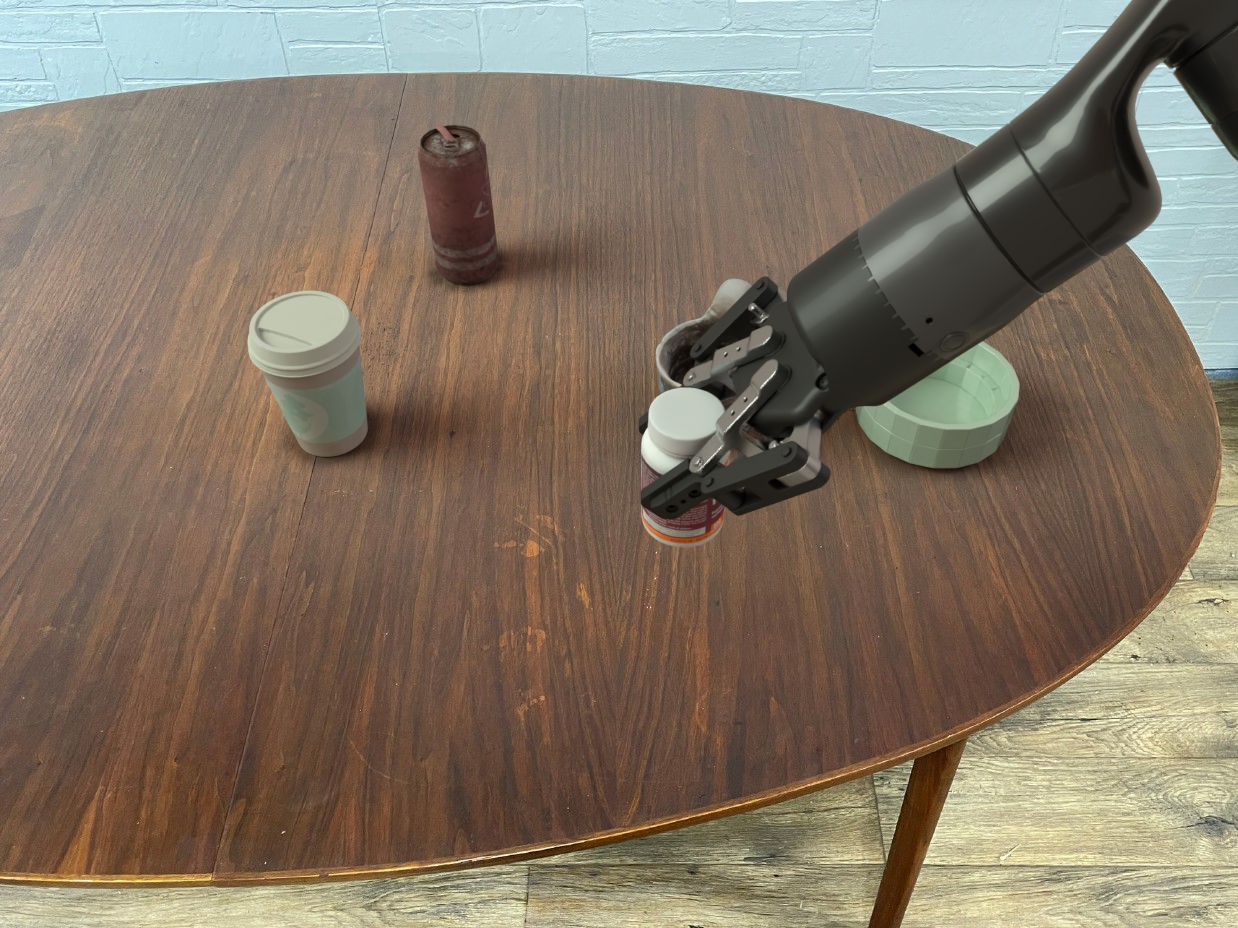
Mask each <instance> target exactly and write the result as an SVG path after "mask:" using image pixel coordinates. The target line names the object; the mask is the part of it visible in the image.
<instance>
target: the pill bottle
mask: <svg viewBox="0 0 1238 928" xmlns="http://www.w3.org/2000/svg"><path fill="white" fill-rule="evenodd" d="M648 411H649V417H648V428H647V429H646V431H645V433H644V435H642V437H641V445H640V448H641V449H640V451H641V452H640V457H641V462H640V463H641V464H640V465H641V466H640V467H641V468H640V471H641V472H640V473H641V476H640V478H641V479H640V480H641V482H640V483H641V490H642V489H643V488H645V487H646V486H648V485H649V484H650V483H652V482H653V481H655V480H656V479H658V478H659V477H661V476H662V475H664V474H665V473H667V472H668V471H669V470H671V469H672V468H674V467H675V466H677V465H678V464H680V463H681V462H683V461H684V460H686V459H687V458H689V459H690V460H692V458H693V457H694V456H695V455H696V454H697V453H698V451H699V450H700V449H701V448H702V447H703V446H704V445H705V444H706V443H707V442H708V441H709V440H710V439H711V438H712V437H713V436H714V435H715V433H716V426H715V424H716V421H717V420H718V418H719V417H720V416H721V415H722V414H723V413H724V412H725V408H724V406H723V404H722V403H721V401H720V400H719V399H718V398H717V397H715V396H714V395H712V394H711V393H709V392H706V391H704V390H700V389H696V388H676V389H672V390H669V391H666V392H664V393H662V394H661V395H659V394H658V396H656V397H655V398H654V399H653V401H652V402H651V404H650V406H649V409H648ZM730 459H731V450H729V451H728V452H727V453H726V454H725V455H724V456H723V457H722V458H721V460H720V461H719V462H720V463H722V464H723V465H725V466H728V465H730ZM641 490H640V491H641ZM640 507H641V509H640V510H641V512H640V514H641V521H642V524H643V527H644V529H645V530H646V532H647V533H648V534H649V535H650V536H651V537H652V538H653V539H655V540H656V541H658V542H659V543H661V544H664V545H667V546H670V547H673V548H682V549H683V548H685V549H686V548H695V547H699V546H702V545H705V544H706V543H708V542H710V541H711V540H713V539H714V538H715V537H716V536H717V535H718V534H719V533H720V531H721V529H722V527H723V525H724V521H725V513H726V507H725V506H723V505H722V504H720V503H719V502H717V501H716V500H714V499H713V498H710V497H709V498H708V499H706V500H705V501H703V502H701V503H700V504H698V505H697V506H695V507H694V508H692V509H690V510H689V511H688V512H686V513H684V514H683V515H681V516H680V517H678V518H677V519H672V520H669V519H662V518H660V517H658V516H657V515H655V514H654V513H652V512H650V511H649V510H647V509H646V508H644V507H643V506H642V505H640Z"/></svg>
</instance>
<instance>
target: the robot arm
mask: <svg viewBox="0 0 1238 928" xmlns="http://www.w3.org/2000/svg"><path fill="white" fill-rule="evenodd" d="M1161 64H1164V65H1165V66H1166V67H1167V68H1168V69H1169V70H1173V69H1175V70H1173V71H1172V75H1173V77H1174V78H1175V79H1176V80H1177V82H1178V83H1179V85H1180V86H1181V88H1182V89H1183V90H1184V92H1185V94H1186V95H1187V96H1188V97H1189V99H1190V100H1191V101H1192V103H1193V104H1194V105H1195V107H1196V109H1197V110H1198V111H1199V112H1200V114H1201V115H1202V117H1203V118H1204V120H1205V121H1206V122H1207V123H1208V125H1209V126H1210V129H1211V130H1212V132H1214V134H1215V136H1216V137H1217V138H1218V140H1219V141H1220V143H1221V144H1222V145H1223V147H1224V148H1225V149H1226V151H1227V152H1228V153H1229V155H1230V156H1231V157H1232V158H1233V159H1234V160H1235V161H1236V162H1238V0H1131V1H1130V2H1128V4H1127V6H1126V7H1125V8H1124V9H1123V10H1122V12H1121V13H1120V14H1119V16H1117V18H1116V19H1115V20H1114V21H1113V23H1112V24H1111V25H1110V26H1109V27H1108V28H1107V30H1106V31H1105V32H1104V33H1103V34H1102V35H1101V36H1100V37H1099V39H1098V40H1097V41H1096V42H1095V43H1094V44H1093V45H1092V46H1091V47H1090V48H1089V49H1088V51H1087V52H1085V54H1084V55H1083V56H1082V57H1081V58H1080V59H1079V61H1077V63H1076V64H1074V65H1073V67H1071V69H1069V71H1067V73H1066V74H1065V75H1064V76H1063V77H1061V78H1060V79H1059V80H1058V81H1057V82H1056V83H1055V84H1053V85H1052V87H1050V88H1049V89H1048V90H1047V91H1046V92H1045V93H1044V94H1042V96H1040V97H1039V98H1038V99H1037V100H1035V101H1034V102H1033V103H1032V104H1030V105H1029V106H1028V107H1026V108H1025V109H1024V110H1023V111H1022V112H1020V113H1019V114H1017V115H1016V116H1015V117H1014V118H1013V119H1011V120H1010V122H1008V123H1005V125H1004V126H1002V127H1000V128H999V129H998V130H996V131H995V132H994V133H993V134H991V135H990V136H988V137H987V138H986V139H985V140H983V141H982V142H980V143H979V144H978V145H976V146H974V147H973V149H971V150H970V151H968V152H967V153H966V154H964V155H963V156H962V157H960V158H959V159H958V160H956V162H955V163H952V164H951V165H950V166H948V167H947V168H945V169H943V170H942V171H940V172H938V173H936V174H935V175H933V176H931V177H930V178H928V179H926V180H924V181H922V182H920V183H919V184H917V185H916V186H914V187H912V188H911V189H909V190H908V191H906V192H905V193H903V194H902V195H900V196H898V197H897V198H896V199H895V200H893V201H892V202H890V204H888V205H887V206H886V207H884V208H883V209H882V210H880V211H879V212H877V213H876V214H875V215H874V216H872V217H871V218H870V219H868V220H867V221H866V222H864V223H863V224H861V225H860V226H859V227H857V228H856V229H855V230H854V231H852V232H851V233H850V234H848V235H847V236H846V237H844V238H843V239H842V240H840V241H839V242H837V243H836V244H835V245H834V246H832V247H831V248H830V249H828V250H827V251H825V252H824V253H823V254H821V255H820V256H819V257H818V258H816V259H815V260H814V261H812V262H811V263H810V264H808V265H806V267H804V268H803V269H802V270H800V271H799V272H797V273H796V274H795V275H794V276H793V277H792V278H791V279H790V281H789V283H788V284H787V285H788V286H787V289H786V291H785V290H783V288H781V287H780V286H779V285H778V284H777V283H776V282H774V281H773V280H772V279H771V278H770V277H769V276H766V275H765V276H761V277H760V278H759V279H757V280H756V281H755V282H754V283H753V284H752V286H751V287H750V288H749V289H748V290H747V292H746V293H745V294H744V295H743V296H742V297H741V298H740V299H739V300H738V301H737V302H736V303H735V304H734V305H733V306H732V307H731V308H730V309H729V310H728V311H727V312H726V313H725V314H724V315H723V316H722V317H721V318H720V319H719V320H718V321H717V322H716V323H715V324H714V325H713V326H712V327H711V328H710V329H709V330H708V331H707V332H706V333H705V334H704V335H703V336H702V337H701V338H700V339H699V340H698V341H697V342H696V343H695V344H694V345H693V347H692V348H691V351H690V356H691V357H692V358H693V359H695V365H694V368H692V369H690V370H689V371H688V372H687V373H686V375H685V377H684V379H683V385H681V386H680V387H678V388H696V389H700V390H704V391H706V392H709V393H711V394H712V395H714V396H715V397H717V398H718V399H719V400H720V401H721V403H722V404H723V406H726V405H729V404H732V403H733V404H732V405H731V406H730V407H729V408H728V409H727V410H726V411H725V412H724V413H723V414H722V415H721V416H720V417H719V418H718V420H717V421H716V424H715V426H716V433H715V435H714V436H713V437H712V438H711V439H710V440H709V441H708V442H707V443H706V444H705V445H704V446H703V447H702V448H701V449H700V450H699V451H698V453H697V454H696V455H695V456H694V457H693V458H692V460H690V459H689V458H687V459H686V460H684V461H683V462H681V463H680V464H678V465H677V466H675V467H674V468H672V469H671V470H669V471H668V472H667V473H665V474H664V475H662V476H661V477H659V478H658V479H656V480H655V481H653V482H652V483H650V484H649V485H648V486H646V487H645V488H643V489H642V490H640V506H643V507H644V508H646V509H647V510H649V511H650V512H652V513H654V514H655V515H657V516H658V517H660V518H662V519H669V520H672V519H677V518H678V517H680V516H681V515H683V514H684V513H686V512H688V511H689V510H690V509H692V508H694V507H695V506H697V505H698V504H700V503H701V502H703V501H705V500H706V499H708V498H709V497H710V498H713V499H714V500H716V501H717V502H719V503H720V504H722V505H723V506H725V509H727V510H728V511H730V512H731V513H732V514H734V515H735V516H736V517H737V516H738V517H741V516H744V515H746V514H749V513H752V512H755V511H758V510H761V509H763V508H767V507H769V506H772V505H775V504H778V503H781V502H783V501H787V500H789V499H792V498H795V497H798V496H801V495H804V494H807V493H811V492H812V491H815V490H818V489H821V488H823V487H824V486H825V485H826V484H827V483H828V482H829V480H830V478H831V473H832V472H831V468H830V466H827V465H826V464H825V463H824V462H823V461H821V460H820V454H821V453H820V452H821V451H820V450H821V440H822V436H823V435H825V434H826V433H827V432H828V431H830V429H831V428H832V427H833V426H834V424H835V423H837V421H838V420H839V419H840V417H842V415H843V414H844V413H846V412H847V411H849V410H850V409H853V408H854V409H855V407H861V406H880V405H883V404H885V403H886V402H888V401H889V400H891V399H893V398H894V397H896V396H897V395H899V394H900V393H902V392H904V391H905V390H907V389H908V388H910V387H912V386H913V385H915V384H916V383H918V382H919V381H921V380H923V379H924V378H926V377H927V376H929V375H930V374H932V373H934V372H935V371H937V370H938V369H940V368H942V367H943V366H945V365H946V364H948V363H949V362H951V361H953V360H954V359H956V358H957V357H959V356H960V355H962V354H963V353H965V352H967V351H968V350H970V349H971V348H973V347H974V346H976V345H978V344H979V343H981V342H982V341H983V342H985V340H987V339H989V338H990V337H992V336H994V335H995V334H996V333H998V332H1000V331H1001V330H1002V329H1003V328H1005V327H1007V326H1009V324H1010V323H1012V322H1013V321H1014V320H1015V319H1016V318H1018V317H1019V316H1020V315H1021V314H1023V312H1025V311H1026V310H1027V309H1028V308H1030V307H1031V306H1033V304H1035V303H1036V302H1037V301H1039V300H1040V299H1041V298H1043V297H1044V296H1045V295H1046V294H1047V293H1050V292H1052V291H1053V290H1055V289H1057V288H1058V287H1059V286H1061V285H1062V284H1064V283H1066V282H1067V281H1069V280H1071V279H1072V278H1073V277H1075V276H1077V275H1078V274H1080V273H1082V272H1083V271H1086V269H1088V268H1089V267H1091V266H1093V265H1094V264H1096V263H1098V262H1099V261H1100V260H1102V259H1103V258H1104V257H1107V256H1108V255H1110V254H1112V253H1114V252H1115V251H1116V250H1118V249H1120V248H1121V247H1123V246H1125V245H1126V244H1128V243H1130V241H1132V240H1133V239H1135V238H1137V237H1138V236H1139V235H1140V234H1142V233H1143V232H1144V231H1145V230H1147V229H1148V228H1149V227H1150V226H1151V225H1152V224H1153V223H1154V222H1155V221H1156V220H1157V218H1158V217H1159V215H1160V214H1161V211H1162V207H1163V195H1162V189H1161V186H1160V183H1159V181H1158V178H1157V175H1156V173H1155V169H1154V167H1153V165H1152V162H1151V160H1150V158H1149V156H1148V153H1147V151H1146V148H1145V146H1144V143H1143V140H1142V138H1141V135H1140V132H1139V128H1138V123H1137V118H1136V103H1137V101H1138V100H1137V99H1138V95H1139V92H1140V91H1141V89H1142V87H1143V84H1144V82H1146V79H1148V77H1149V76H1150V75H1151V73H1152V72H1153V71H1154V70H1155V69H1156V68H1157V67H1158V66H1159V65H1161ZM729 336H735V337H736V338H737V339H738V340H740V341H738V342H735V343H733V344H731V345H728V346H726V347H723V348H721V349H719V350H718V349H716V348H717V347H718V346H719V345H720V344H721V343H722V342H723V341H724V340H725V339H726V338H727V337H729ZM648 417H649V410H648V411H646V412H645V413H644V414H643V415H641V416H640V417H639V418H638V432H639V434H641V436H643V435H644V433H645V431H646V429H647V428H648ZM745 423H747V424H748V425H749V426H751V427H752V428H751V429H753V430H755V431H756V432H757V433H759V434H760V435H761V436H764V438H761V439H760V438H759V439H758V438H754V437H753V436H752V435H750V434H749V433H748V432H745V431H744V430H742V429H741V428H742V426H743V425H744V424H745ZM729 450H730V451H732V450H737V451H738V452H739V454H738V455H737V456H736V457H735V458H734V459H733V460H732V461H731V462H729V465H728V466H725V465H723V464H722V463H720V462H719V461H720V460H721V458H722V457H723V456H724V455H725V454H726V453H727V452H728V451H729Z"/></svg>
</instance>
